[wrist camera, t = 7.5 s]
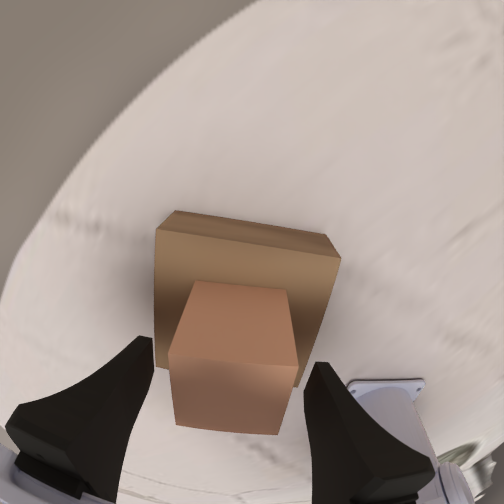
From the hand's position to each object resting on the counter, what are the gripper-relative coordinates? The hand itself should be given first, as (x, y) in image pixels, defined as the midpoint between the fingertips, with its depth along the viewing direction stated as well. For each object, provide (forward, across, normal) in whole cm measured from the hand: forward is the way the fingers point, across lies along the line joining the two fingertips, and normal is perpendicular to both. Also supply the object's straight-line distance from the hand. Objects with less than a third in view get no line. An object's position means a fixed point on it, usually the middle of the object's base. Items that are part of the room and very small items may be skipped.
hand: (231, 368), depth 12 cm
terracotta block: (+3, 0, 0) cm, 4 cm away
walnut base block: (+8, 0, 0) cm, 8 cm away
